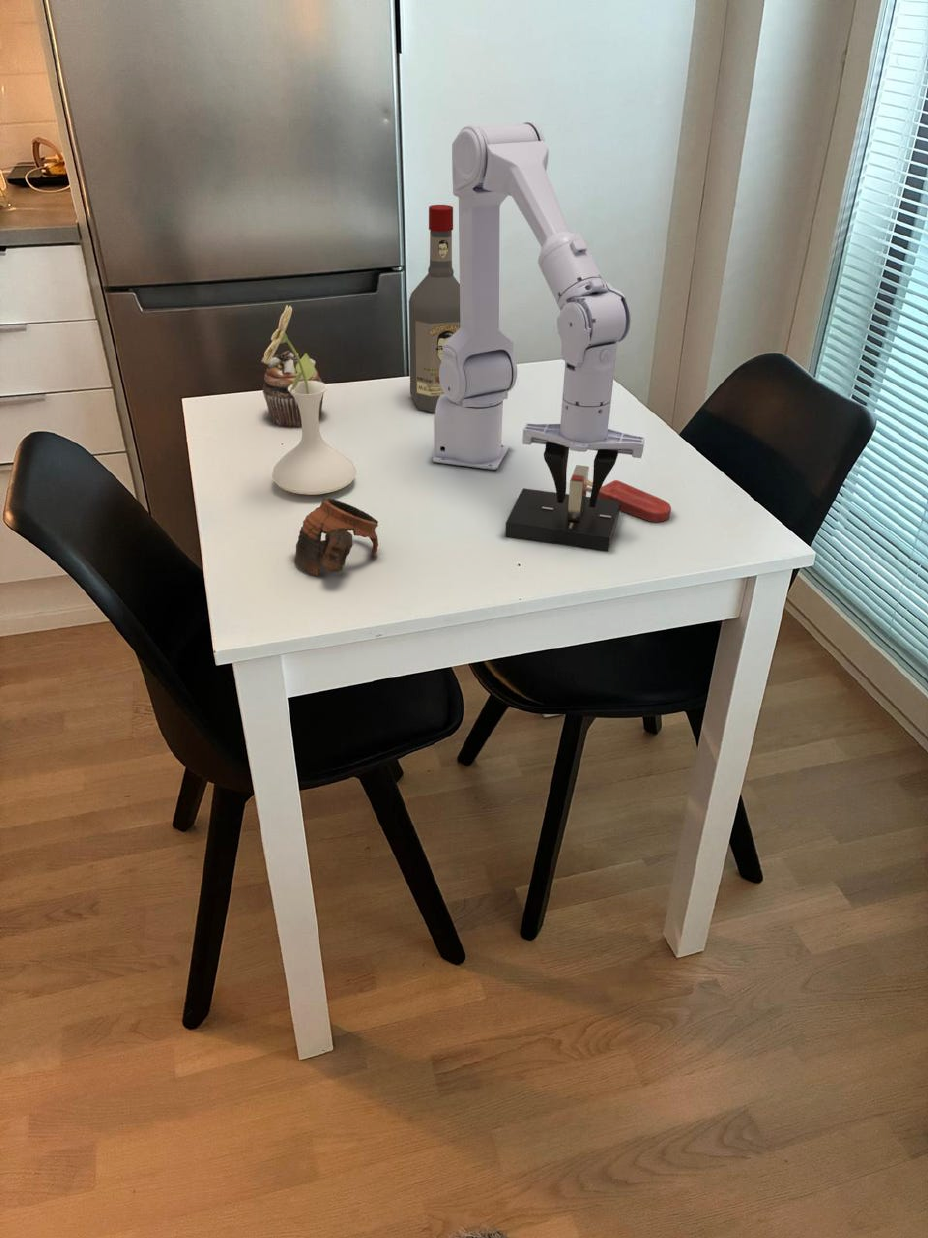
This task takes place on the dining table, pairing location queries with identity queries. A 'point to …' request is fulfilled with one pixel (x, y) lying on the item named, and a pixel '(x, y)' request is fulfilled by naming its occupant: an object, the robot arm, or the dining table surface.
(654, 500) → the popsicle
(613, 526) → the knob box
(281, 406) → the cupcake
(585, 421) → the robot arm
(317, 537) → the pottery mug
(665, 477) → the dining table surface
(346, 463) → the flower in vase
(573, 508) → the knob
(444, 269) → the liquor
